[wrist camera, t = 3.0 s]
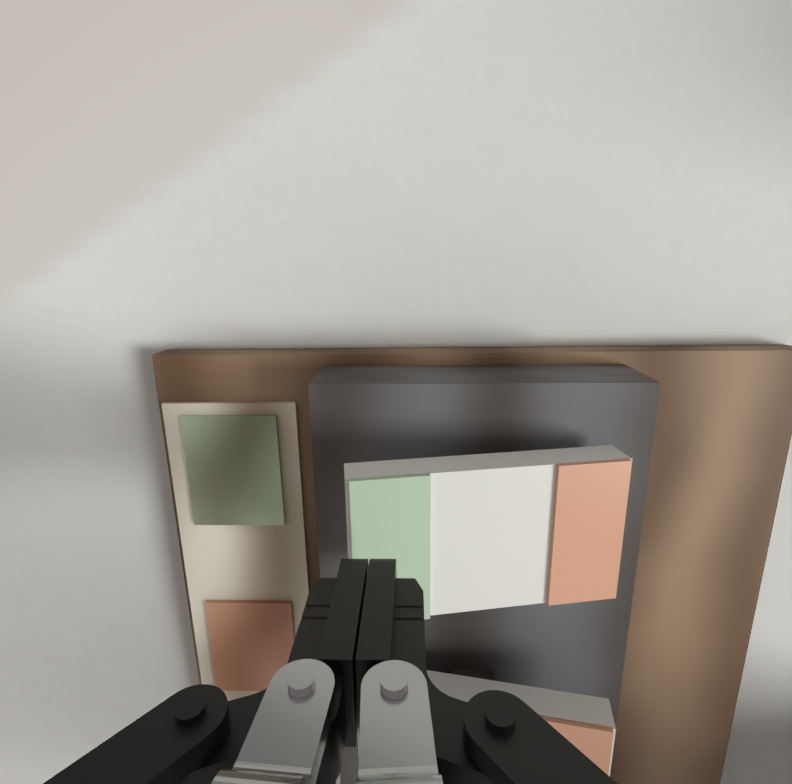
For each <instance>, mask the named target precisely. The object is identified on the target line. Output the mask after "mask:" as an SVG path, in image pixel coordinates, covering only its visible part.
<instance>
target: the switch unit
mask: <svg viewBox="0 0 792 784" xmlns="http://www.w3.org/2000/svg"><path fill="white" fill-rule="evenodd" d="M152 358H153V365H154V372H155V379H156V386H157V392H158V399H159V406H160V413H161V420H162V427H163V434H164V440H165V447H166V454H167V461H168V468H169V475H170V482H171V488H172V495H173V502H174V509H175V516H176V523H177V530H178V536H179V543H180V550H181V557H182V564H183V571H184V578H185V584H186V591H187V598H188V605H189V612H190V619H191V626H192V632H193V639H194V646H195V653H196V660H197V667H198V674H199V680H200V685H201V684H208V685H213V686H216V687H218V688H220V689H221V690H223V692H224V693H225V694H226V697H227V701H230V700H234V699H238V698H241V697H245V696H249V695H252V694H255V693H258V692H260V691H262V690H264V689H266V688H267V687H268V685H269V682H270V680H271V679H272V677H273V676H274V674H275V673H276V672H277V671H278V670H279V669H280V668H282V667H283V666H285V665H286V664H287V663H288V660H289V656H290V653H291V650H292V646H293V643H294V640H295V637H296V633H297V630H298V627H299V624H300V620H301V619H302V614H303V611H304V608H305V604H306V601H307V597H308V594H309V591H310V589H311V588H312V587H313V586H314V585H315V584H316V583H317V582H318V581H319V580H320V579H321V578H337V574H338V570H339V566H340V562H341V559H348V545H347V523H346V501H345V479H344V463H356V462H370V461H385V460H400V459H414V458H429V457H443V456H458V455H472V454H487V453H501V452H516V451H531V450H545V449H560V448H574V447H589V446H603V445H612V446H614V447H615V448H617V449H618V450H620V451H621V452H623V453H624V454H626V455H628V456H629V457H631V458H632V467H631V476H630V484H629V493H628V501H627V509H626V518H625V526H624V535H623V543H622V552H621V560H620V568H619V577H618V585H617V594H616V598H613V599H604V600H595V601H586V602H577V603H568V604H559V605H550V606H548V604H547V603H539V604H530V605H521V606H512V607H503V608H494V609H485V610H476V611H467V612H458V613H449V614H440V615H431V616H430V619H425V620H424V626H425V656H426V670H430V671H436V672H442V673H449V674H455V675H461V676H468V677H474V678H481V679H487V680H493V681H500V682H506V683H512V684H519V685H525V686H532V687H538V688H544V689H551V690H557V691H563V692H570V693H576V694H582V695H589V696H595V697H602V698H608V699H609V701H610V705H611V710H612V714H613V718H614V723H615V727H616V733H615V741H614V748H613V756H612V764H611V771H610V777H611V778H612V779H613V780H614V781H615V782H616V783H617V784H720V779H721V774H722V769H723V764H724V759H725V755H726V750H727V745H728V740H729V735H730V730H731V726H732V721H733V716H734V711H735V706H736V701H737V697H738V692H739V687H740V682H741V677H742V672H743V667H744V663H745V658H746V653H747V648H748V643H749V638H750V634H751V629H752V624H753V619H754V614H755V609H756V605H757V600H758V595H759V590H760V585H761V580H762V575H763V571H764V566H765V561H766V556H767V551H768V546H769V542H770V537H771V532H772V527H773V522H774V517H775V513H776V508H777V503H778V498H779V493H780V488H781V484H782V479H783V474H784V469H785V464H786V459H787V454H788V450H789V445H790V440H791V435H792V346H789V345H717V346H592V347H468V348H343V349H219V350H165V351H162V352H159V353H157V354H154V355H152ZM358 765H359V754H358V735H357V744H356V747H345V748H344V755H343V763H342V768H341V772H340V784H356V779H357V778H358Z"/></svg>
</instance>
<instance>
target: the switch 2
mask: <svg viewBox="0 0 792 784" xmlns="http://www.w3.org/2000/svg"><path fill="white" fill-rule="evenodd" d="M426 671H427V674H428V677H429V678H430V680H431V682H432V683H433V684H434V685H435V686H436V687H437V688H438V689H439V690H440V691H441V692H443V693H445V694H446V695H448V696H450V697H453V698H456V699H459V700H462V701H465V702H468V701H469V700H470V699H471V698H472V697H473V696H475V695H476V694H478V693H480V692H483V691H488V690H500V691H505V692H508V693H510V694H513V695H515V696H517V697H518V698H520V699H521V700H522V701H524V702H525V703H526V704H527V705H528V706H529V707H530V708H532V709H533V710H534V711H535V712H536V713H537V714H538V715H540V716H541V717H542V718H543V719H544V720H545V721H546V722H548V723H549V724H550V725H551V726H552V727H553V728H554V729H556V730H557V731H558V732H559V733H560V734H561V735H562V736H564V737H565V738H566V739H567V740H568V741H569V742H571V743H572V744H573V745H574V746H575V747H576V748H577V749H579V750H580V751H581V752H582V753H583V754H584V755H585V756H587V757H588V758H589V759H590V760H591V761H592V762H593V763H595V764H596V765H597V766H598V767H599V768H600V769H601V770H603V771H604V772H605V773H606V774H607V775H608V776H609V777H610V771H611V764H612V756H613V748H614V741H615V733H616V727H615V723H614V718H613V714H612V710H611V705H610V701H609V699H608V698H602V697H595V696H589V695H582V694H576V693H570V692H563V691H557V690H551V689H544V688H538V687H532V686H525V685H519V684H512V683H506V682H500V681H493V680H487V679H481V678H474V677H468V676H461V675H455V674H449V673H442V672H436V671H430V670H426ZM358 754H359V729H358Z"/></svg>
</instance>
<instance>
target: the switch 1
mask: <svg viewBox="0 0 792 784" xmlns="http://www.w3.org/2000/svg"><path fill="white" fill-rule="evenodd" d="M631 467H632V458H631V457H629V456H628V455H626V454H624V453H623V452H621V451H620V450H618V449H617V448H615V447H614V446H612V445H603V446H589V447H574V448H560V449H545V450H531V451H516V452H501V453H487V454H472V455H458V456H443V457H429V458H414V459H400V460H385V461H370V462H356V463H344V479H345V501H346V523H347V545H348V559H368V561H369V560H370V559H396V571H397V578H415V579H416V580H417V582H418V584H419V585H420V587H421V588H422V590H423V595H424V620H425V619H430V616H431V615H440V614H449V613H458V612H467V611H476V610H485V609H494V608H503V607H512V606H521V605H530V604H539V603H547V604H548V606H550V605H559V604H568V603H577V602H586V601H595V600H604V599H613V598H616V594H617V585H618V577H619V568H620V560H621V552H622V543H623V535H624V526H625V518H626V509H627V501H628V493H629V484H630V476H631Z"/></svg>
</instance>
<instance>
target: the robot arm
mask: <svg viewBox="0 0 792 784" xmlns="http://www.w3.org/2000/svg"><path fill="white" fill-rule="evenodd" d="M358 729H359V765H358V778H357V779H356V784H617V783H616V782H615V781H614V780H613V779H612V778H611V777H609V776H608V775H607V774H606V773H605V772H604V771H603V770H601V769H600V768H599V767H598V766H597V765H596V764H595V763H593V762H592V761H591V760H590V759H589V758H588V757H587V756H585V755H584V754H583V753H582V752H581V751H580V750H579V749H577V748H576V747H575V746H574V745H573V744H572V743H571V742H569V741H568V740H567V739H566V738H565V737H564V736H562V735H561V734H560V733H559V732H558V731H557V730H556V729H554V728H553V727H552V726H551V725H550V724H549V723H548V722H546V721H545V720H544V719H543V718H542V717H541V716H540V715H538V714H537V713H536V712H535V711H534V710H533V709H532V708H530V707H529V706H528V705H527V704H526V703H525V702H524V701H522V700H521V699H520V698H518V697H517V696H515V695H513V694H510V693H508V692H505V691H500V690H488V691H483V692H480V693H478V694H476V695H475V696H473V697H472V698H471V699H470V700H469V701H468V702H465V701H462V700H459V699H456V698H453V697H450V696H448V695H446V694H445V693H443V692H441V691H440V690H439V689H438V688H437V687H436V686H435V685H434V684H433V683H432V682H431V680H430V678H429V677H428V674H427V671H426V656H425V626H424V595H423V590H422V588H421V587H420V585H419V584H418V582H417V580H416V579H415V578H397V571H396V559H370V560H369V561H368V559H341V562H340V566H339V570H338V574H337V578H321V579H320V580H319V581H318V582H317V583H316V584H315V585H314V586H313V587H312V588H311V589H310V591H309V594H308V597H307V601H306V604H305V608H304V611H303V614H302V619H301V620H300V624H299V627H298V630H297V633H296V637H295V640H294V643H293V646H292V650H291V653H290V656H289V660H288V663H287V664H286V665H285V666H283V667H282V668H280V669H279V670H278V671H277V672H276V673H275V674H274V676H273V677H272V679H271V680H270V682H269V685H268V687H267V688H266V689H264V690H262V691H260V692H258V693H255V694H252V695H249V696H245V697H241V698H238V699H234V700H230V701H227V697H226V694H225V693H224V692H223V690H221V689H220V688H218V687H216V686H213V685H208V684H201V685H195V686H191V687H188V688H185V689H183V690H181V691H179V692H177V693H176V694H174V695H172V696H171V697H169V698H168V699H167V700H165V701H164V702H162V703H161V704H159V705H158V706H156V707H155V708H153V709H152V710H150V711H149V712H147V713H146V714H145V715H143V716H142V717H140V718H139V719H137V720H136V721H134V722H133V723H131V724H130V725H128V726H127V727H125V728H124V729H123V730H121V731H120V732H118V733H117V734H115V735H114V736H112V737H111V738H109V739H108V740H106V741H105V742H103V743H102V744H101V745H99V746H98V747H96V748H95V749H93V750H92V751H90V752H89V753H87V754H86V755H84V756H83V757H81V758H80V759H78V760H77V761H76V762H74V763H73V764H71V765H70V766H68V767H67V768H65V769H64V770H62V771H61V772H59V773H58V774H56V775H55V776H54V777H52V778H51V779H49V780H48V781H46V782H45V783H43V784H340V772H341V768H342V763H343V755H344V748H345V747H356V744H357V735H358Z"/></svg>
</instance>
